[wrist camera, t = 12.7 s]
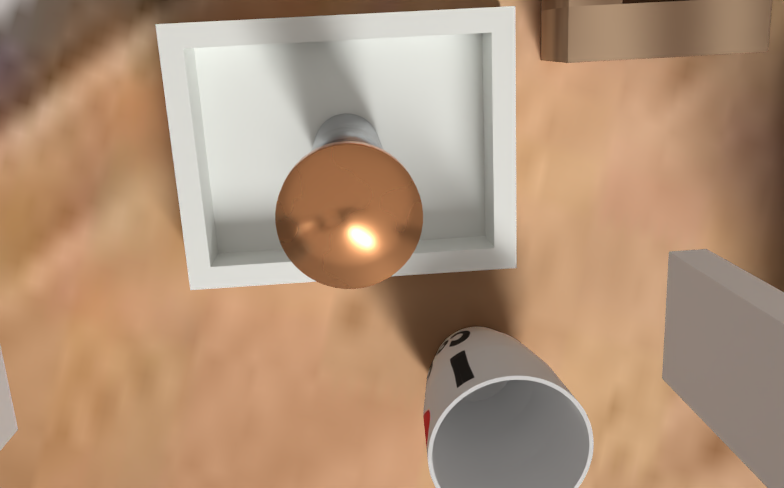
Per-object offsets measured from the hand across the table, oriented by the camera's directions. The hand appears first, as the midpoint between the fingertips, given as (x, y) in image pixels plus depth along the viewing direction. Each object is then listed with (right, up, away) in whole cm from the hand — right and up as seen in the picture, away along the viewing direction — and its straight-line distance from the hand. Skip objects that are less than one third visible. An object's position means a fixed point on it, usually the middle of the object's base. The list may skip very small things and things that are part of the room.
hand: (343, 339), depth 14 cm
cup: (+6, -5, +31) cm, 32 cm away
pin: (-1, +7, +26) cm, 27 cm away
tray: (-2, +7, +27) cm, 28 cm away
